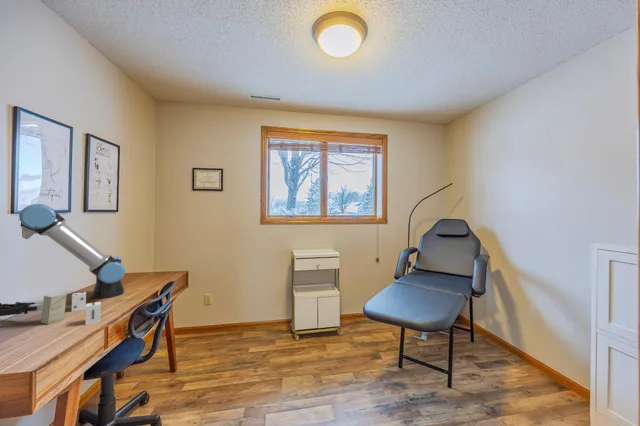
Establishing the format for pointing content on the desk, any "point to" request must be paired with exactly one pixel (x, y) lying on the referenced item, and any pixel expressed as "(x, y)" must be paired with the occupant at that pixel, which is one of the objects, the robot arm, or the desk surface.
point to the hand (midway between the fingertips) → (47, 307)
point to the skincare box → (53, 307)
